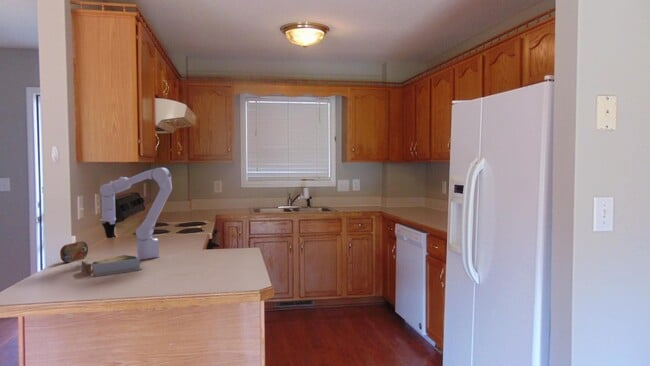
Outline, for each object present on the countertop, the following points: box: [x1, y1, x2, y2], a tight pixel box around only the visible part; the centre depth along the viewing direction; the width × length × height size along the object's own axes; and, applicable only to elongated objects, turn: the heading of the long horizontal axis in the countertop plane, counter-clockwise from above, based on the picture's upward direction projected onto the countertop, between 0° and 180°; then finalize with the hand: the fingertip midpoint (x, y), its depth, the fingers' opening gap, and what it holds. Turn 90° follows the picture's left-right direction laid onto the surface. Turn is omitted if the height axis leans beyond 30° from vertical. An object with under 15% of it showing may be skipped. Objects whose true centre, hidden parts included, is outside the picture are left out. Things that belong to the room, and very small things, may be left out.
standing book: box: [81, 259, 92, 277], centre depth 186 cm, size 2×9×5 cm, turn 38°
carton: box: [92, 254, 137, 265], centre depth 197 cm, size 8×16×4 cm, turn 155°
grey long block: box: [92, 258, 143, 277], centre depth 188 cm, size 18×3×4 cm, turn 128°
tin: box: [59, 240, 89, 263], centre depth 210 cm, size 15×3×8 cm, turn 168°
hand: (109, 237), depth 214 cm, fingers closed
